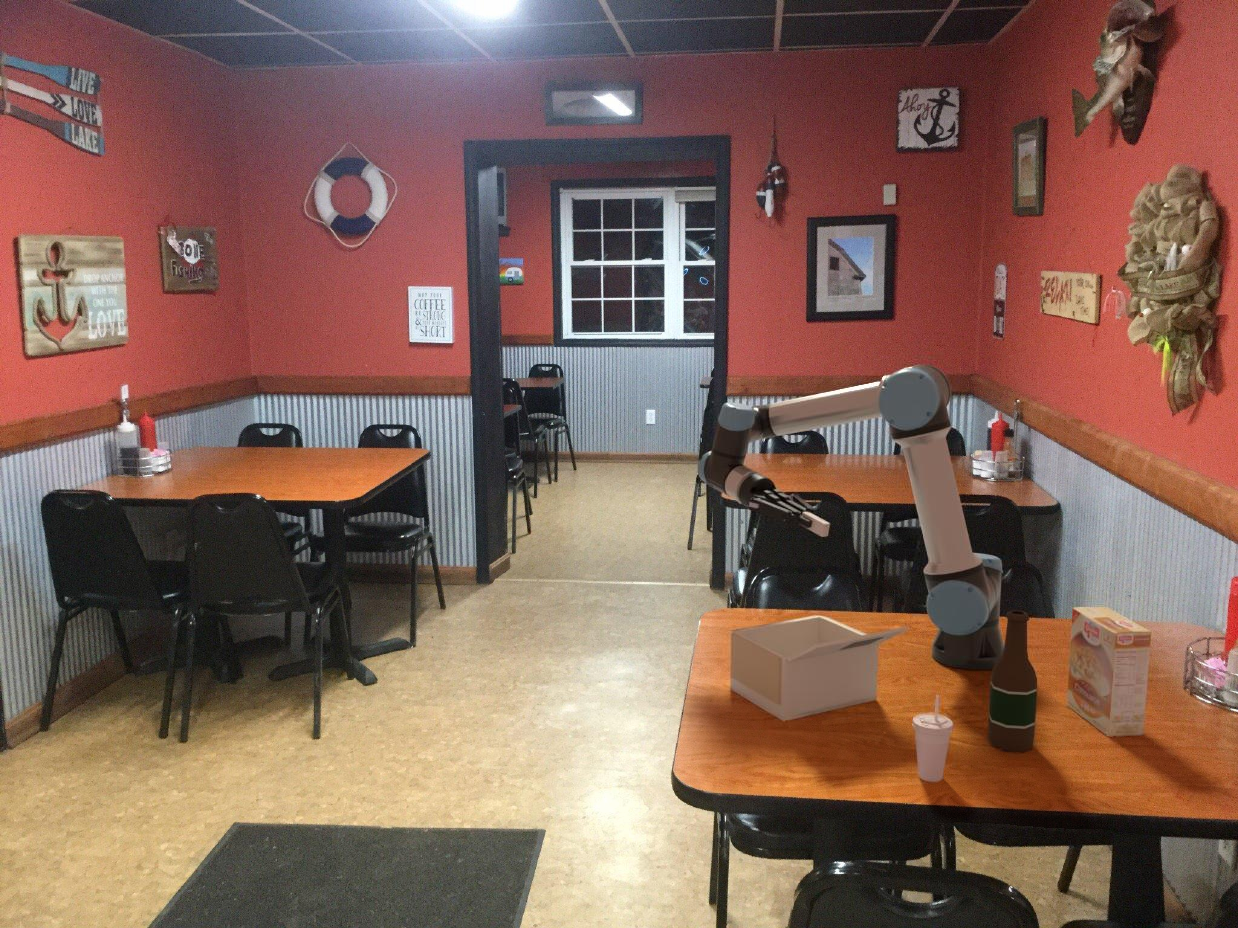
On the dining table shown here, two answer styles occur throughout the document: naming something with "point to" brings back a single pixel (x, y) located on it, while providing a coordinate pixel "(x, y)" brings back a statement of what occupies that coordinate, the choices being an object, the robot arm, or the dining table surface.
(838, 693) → the carton
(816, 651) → the far flap
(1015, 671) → the beer bottle
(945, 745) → the smoothie
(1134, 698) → the coffeecake box
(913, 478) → the robot arm
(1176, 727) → the dining table surface
